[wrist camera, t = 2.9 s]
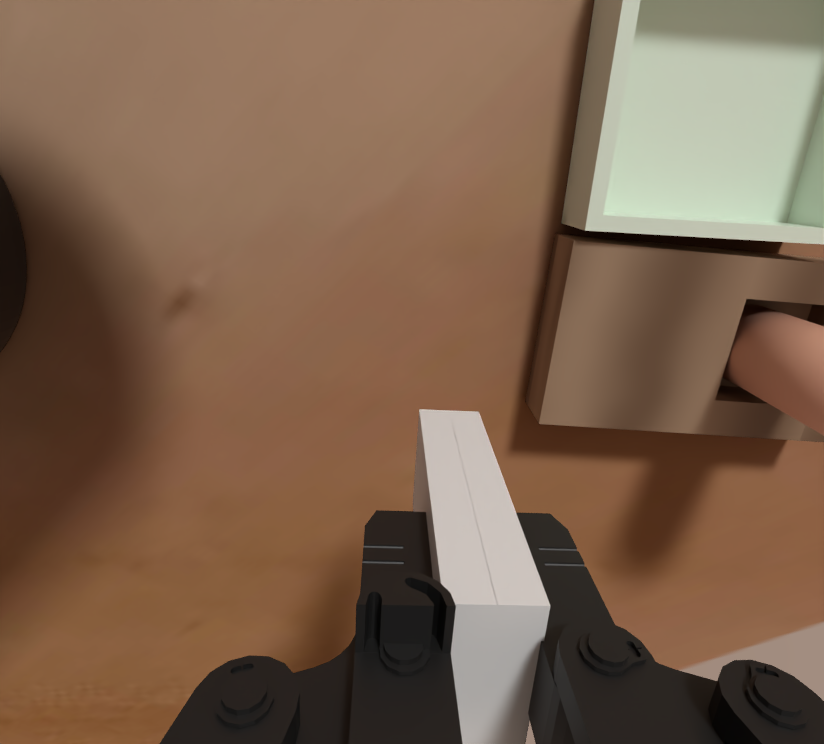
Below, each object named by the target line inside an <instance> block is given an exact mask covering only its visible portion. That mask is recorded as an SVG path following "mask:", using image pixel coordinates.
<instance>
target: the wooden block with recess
mask: <svg viewBox="0 0 824 744" xmlns="http://www.w3.org/2000/svg"><path fill="white" fill-rule="evenodd" d="M748 304H754V305H760V306H763V307H766V308H769V309H773V310H776V311H779V312H782V313H785V314H788V315H791V316H794V317H797V318H800V319H803V320H806V321H809V322H812V323H815V324H818V325H821V326H824V258H819V257H808V256H798V255H787V254H776V253H765V252H754V251H743V250H732V249H721V248H710V247H699V246H688V245H678V244H667V243H656V242H645V241H634V240H623V239H612V238H601V237H590V236H579V235H568V234H558V233H555V238H554V243H553V249H552V255H551V260H550V266H549V271H548V277H547V283H546V288H545V294H544V299H543V305H542V311H541V316H540V322H539V328H538V333H537V339H536V344H535V350H534V356H533V361H532V367H531V372H530V378H529V384H528V389H527V395H526V400H525V402H526V403H527V405H528V407H529V408H530V410H531V412H532V413H533V415H534V417H535V418H536V420H537V422H538V423H539V424H547V425H563V426H579V427H594V428H610V429H626V430H641V431H657V432H672V433H688V434H704V435H719V436H735V437H750V438H766V439H782V440H797V441H813V442H824V436H823V435H822V434H820V433H818V432H817V431H815V430H813V429H811V428H810V427H808V426H806V425H805V424H803V423H801V422H799V421H798V420H796V419H794V418H792V417H791V416H789V415H787V414H786V413H784V412H782V411H780V410H779V409H777V408H775V407H774V406H772V405H770V404H768V403H767V402H765V401H763V400H761V399H760V398H758V397H756V396H755V395H753V394H751V393H749V392H748V391H746V390H744V389H743V388H741V387H739V386H737V385H736V384H734V383H732V382H730V381H729V380H727V379H725V378H724V377H722V376H723V373H724V370H725V367H726V363H727V360H728V357H729V354H730V351H731V347H732V344H733V341H734V338H735V334H736V331H737V328H738V325H739V322H740V318H741V315H742V312H743V309H744V305H748Z"/></svg>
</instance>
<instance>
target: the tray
mask: <svg viewBox="0 0 824 744" xmlns="http://www.w3.org/2000/svg"><path fill="white" fill-rule="evenodd" d="M561 223H562V224H566V225H569V226H572V227H575V228H578V229H581V230H585V231H600V232H617V233H635V234H652V235H670V236H687V237H704V238H722V239H739V240H756V241H774V242H791V243H808V244H824V0H595V1H594V8H593V15H592V21H591V28H590V35H589V41H588V48H587V55H586V61H585V68H584V75H583V81H582V88H581V95H580V102H579V108H578V115H577V122H576V128H575V135H574V142H573V148H572V155H571V162H570V168H569V175H568V182H567V188H566V195H565V202H564V209H563V215H562V222H561Z"/></svg>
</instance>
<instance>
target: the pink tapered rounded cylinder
mask: <svg viewBox="0 0 824 744" xmlns="http://www.w3.org/2000/svg"><path fill="white" fill-rule="evenodd" d="M722 377H724V378H725V379H727V380H729V381H730V382H732V383H734V384H736V385H737V386H739V387H741V388H743V389H744V390H746V391H748V392H749V393H751V394H753V395H755V396H756V397H758V398H760V399H761V400H763V401H765V402H767V403H768V404H770V405H772V406H774V407H775V408H777V409H779V410H780V411H782V412H784V413H786V414H787V415H789V416H791V417H792V418H794V419H796V420H798V421H799V422H801V423H803V424H805V425H806V426H808V427H810V428H811V429H813V430H815V431H817V432H818V433H820V434H822V435H823V436H824V326H821V325H818V324H815V323H812V322H809V321H806V320H803V319H800V318H797V317H794V316H791V315H788V314H785V313H782V312H779V311H776V310H773V309H769V308H766V307H763V306H760V305H754V304H748V305H744V309H743V312H742V315H741V318H740V322H739V325H738V328H737V331H736V334H735V338H734V341H733V344H732V347H731V351H730V354H729V357H728V360H727V363H726V367H725V370H724V373H723V376H722Z"/></svg>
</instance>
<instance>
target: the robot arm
mask: <svg viewBox="0 0 824 744" xmlns="http://www.w3.org/2000/svg"><path fill="white" fill-rule="evenodd" d="M26 270H27V266H26V253H25V246H24V239H23V235H22V230H21V226H20V222H19V219H18V215H17V212H16V209H15V206H14V204H13V201H12V198H11V196H10V194H9V191H8V189H7V187H6V185H5V183H4V181H3V179H2V177H1V175H0V352H1V350H2V349H3V348H4V346H5V345H6V343H7V342H8V340H9V338H10V337H11V335H12V333H13V331H14V329H15V327H16V324H17V322H18V319H19V316H20V313H21V309H22V306H23V301H24V296H25V289H26ZM529 720H530V723H531V726H532V730H533V734H534V738H535V742H536V744H824V701H823V700H822V699H821V698H820V697H819V696H818V695H817V694H815V693H814V692H813V691H812V690H811V689H809V688H808V687H807V686H805V685H804V684H803V683H802V682H800V681H799V680H798V679H796V678H795V677H794V676H792V675H790V674H788V673H786V672H784V671H782V670H780V669H778V668H776V667H774V666H772V665H768V664H764V663H761V662H757V661H753V660H734V661H732V662H730V663H729V664H727V665H725V666H723V667H722V670H721V673H720V675H719V678H718V681H714V680H710V679H707V678H703V677H699V676H696V675H693V674H689V673H685V672H682V671H678V670H675V669H672V668H669V667H667V666H664V665H661V664H659V663H657V662H655V660H654V658H653V657H652V655H651V654H650V652H649V651H648V650H647V649H646V647H645V646H644V645H643V643H642V642H641V641H640V640H639V639H637V638H636V637H635V636H633V635H632V634H631V633H629V632H628V631H627V630H625V629H623V628H621V627H618V626H616V625H615V624H614V622H613V620H612V618H611V616H610V614H609V612H608V610H607V608H606V606H605V604H604V602H603V600H602V598H601V596H600V594H599V592H598V590H597V588H596V586H595V584H594V582H593V580H592V578H591V576H590V574H589V571H588V569H587V567H585V566H584V561H583V559H582V557H581V555H580V553H579V552H578V551H577V547H576V545H575V543H574V541H573V539H572V537H571V535H570V533H569V531H568V529H566V528H565V527H564V526H563V525H562V524H561V523H560V522H559V521H558V520H556V519H555V518H554V517H553V516H552V515H551V514H543V513H516V511H515V509H514V506H513V503H512V501H511V498H510V495H509V492H508V490H507V487H506V484H505V482H504V479H503V476H502V473H501V471H500V468H499V465H498V463H497V460H496V457H495V455H494V452H493V449H492V446H491V444H490V441H489V438H488V436H487V433H486V430H485V428H484V425H483V422H482V419H481V417H480V414H479V412H473V411H447V410H422V409H419V422H418V436H417V450H416V465H415V479H414V493H413V512H411V511H376V512H375V513H374V515H373V516H372V517H371V519H370V520H369V521H368V523H367V524H366V525H365V534H364V548H363V563H362V577H361V591H360V596H359V599H358V601H357V604H356V635H355V636H354V638H353V640H352V642H351V643H350V645H349V646H348V647H347V648H346V649H345V650H344V651H343V652H342V653H341V654H340V655H338V656H337V657H335V658H334V659H332V660H331V661H329V662H327V663H324V664H322V665H319V666H317V667H314V668H310V669H307V670H303V671H300V672H296V673H293V672H292V671H291V670H290V669H289V668H288V667H287V666H286V664H285V663H282V662H280V661H278V660H275V659H273V658H271V657H268V656H246V657H242V658H238V659H235V660H231V661H228V662H227V663H225V664H223V665H222V666H220V667H218V668H217V669H215V670H213V671H212V672H210V673H209V674H208V675H207V677H206V678H205V679H204V680H203V681H202V682H201V683H200V684H199V685H198V686H197V688H196V689H195V690H194V692H193V693H192V695H191V697H190V698H189V700H188V701H187V703H186V704H185V706H184V707H183V709H182V710H181V712H180V713H179V715H178V716H177V718H176V719H175V721H174V722H173V724H172V726H171V727H170V729H169V730H168V732H167V733H166V735H165V736H164V738H163V739H162V741H161V742H160V744H525V742H526V736H527V731H528V726H529Z"/></svg>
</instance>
